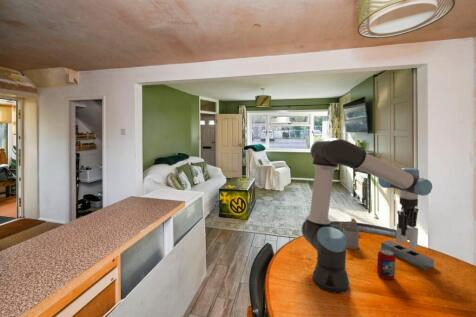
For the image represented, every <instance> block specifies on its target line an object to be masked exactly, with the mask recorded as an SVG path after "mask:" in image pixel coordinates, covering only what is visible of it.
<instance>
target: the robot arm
mask: <svg viewBox="0 0 476 317" xmlns="http://www.w3.org/2000/svg"><path fill="white" fill-rule="evenodd" d="M310 155H311V156H310V157H312V165H313V167H314V168H315V169H314V176H313V177H314V178H313V187H312V193H311V204H310V210H309V214H308V215H307V216H306V218H305V220H304V221H303V223H302V224H301V228H300V229H301V234H302V236H303V237H304V239H305V240H306V242H308V243H309V244H310V246H312V247H313V248H314V250H315V251H316V254H317V255H316V256H317V258H316V265H315V267H314V270H313V272H312V281H313V283H314V285H315V286H317V287H318V288H319V289H321V290H322V291H325V292H328V293H331V294H343V293H347V291H349V289H350V278H349V277H348V273H347V269H346V259H347V258H346V257H347V247H346V246H347V244H346V237H345V235H344V234H343V233H342V232H341V231H340V230H339V228H335V227H332V226H331V222H332V221H331V220H330V218H329V211H330V204H331V196H332V195H331V194H332V186H333V182H334V181H333V179H334V173H335V172H334V171H335V170H336V169H338V167H339V165H340V166H344V167H348V168H351V170H352V169H353V170H356V169H358V170H360V171H362V172H364V173H367V174H369V175H371V176H373V177H375V178H377V179H378V181H377V182H378V184H379V186H380V187H381V188H384V189H390V188H392V189H394V190H399V201H398V202H399V205H400V206H401V207H400V210H396V213H397V219H398V220H397V224H398V228H400V229H401V240H402V241H404V242H405V243H408V241H409V239H410V236H408V230H407V225H409V226H412V227H415V228H417V220H418V213H419V208H417V206H418V205H419V204H418V203H419V199H418V198H419V196H424V197H425V196H428V195H429V194H430V193H431V192H432V190H433V183H432V182H431V181H430V180H429V179H427V178H424V177H420V170H419V169H418V168H414V167H402V168H398V167H396V166H394V165H392V164H391V163H388V162H387V161H384V160H382V159H379V158H378V157H376V156H374V155H372V154H369V153H367V150H366V149H364V148H362V147H360V146H359V145H356V144H354V143H352V142H350V141H348V140H346V139H343V138H338V137H337V138H332V137H331V138H330V137H329V138H327V137H326V138H325V137H324V138H321V139H317V140H316V141H314V142H313V143H312V145H311V147H310Z"/></svg>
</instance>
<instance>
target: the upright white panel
mask: <svg viewBox="0 0 476 317" xmlns="http://www.w3.org/2000/svg"><path fill="white" fill-rule="evenodd" d="M407 230H408V236H410V239H409V240H408V241H409V243H408V247H409V249H411V250H415V249H418V239H419V238H418V235H419V228H417V227H412V226H409V225H407ZM395 235H396V236H395V237H396V238H395V243H397V244H399V245H401V244H404V241H402V240H401V229H400V228H398V223H396V234H395Z"/></svg>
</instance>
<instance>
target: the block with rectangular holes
mask: <svg viewBox="0 0 476 317" xmlns="http://www.w3.org/2000/svg"><path fill="white" fill-rule="evenodd" d="M380 249H388V250H391V251H392V252H393V253H394V255H395V258H398V259H401V260H403V261H404V262H407V263H409V264H411V265H413V266H415V267H417V268H419V269H421V270H423V271H427V270H429V269H432V268H435V267H434V266H435V259H434V258H432V257H429V256H427V255H424V254H422V253H420V252H417V251H415V250H414V249H411V248H408V247H406V246H404V245H401V244H399V243H397V242H396V241H395V242H394V241H392V240H387V241H381V243H380Z"/></svg>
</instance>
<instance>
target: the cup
mask: <svg viewBox="0 0 476 317" xmlns="http://www.w3.org/2000/svg"><path fill="white" fill-rule="evenodd" d="M359 231H360V230H359V229H358V228H357V229H356V228H354V227H344V228H343V234H344V235H345V237H346V244H347V246H346V249H352V250H354V249H358V248H359V239H360V238H359V237H360V232H359Z"/></svg>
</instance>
